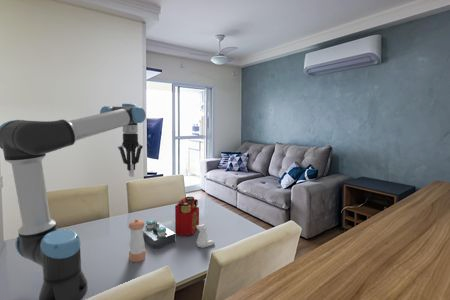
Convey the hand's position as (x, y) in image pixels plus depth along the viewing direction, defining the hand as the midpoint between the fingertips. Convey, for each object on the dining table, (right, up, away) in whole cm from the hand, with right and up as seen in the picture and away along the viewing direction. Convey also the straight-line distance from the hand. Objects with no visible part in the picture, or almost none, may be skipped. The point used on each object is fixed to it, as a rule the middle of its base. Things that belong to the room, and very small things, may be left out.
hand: (131, 176), depth 132 cm
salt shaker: (+9, -37, -17) cm, 42 cm away
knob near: (+17, -35, -3) cm, 39 cm away
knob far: (+9, -33, +6) cm, 35 cm away
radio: (+29, -34, +12) cm, 46 cm away
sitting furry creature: (+40, -37, -4) cm, 54 cm away
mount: (+13, -35, +1) cm, 37 cm away
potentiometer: (+13, -30, +1) cm, 33 cm away
